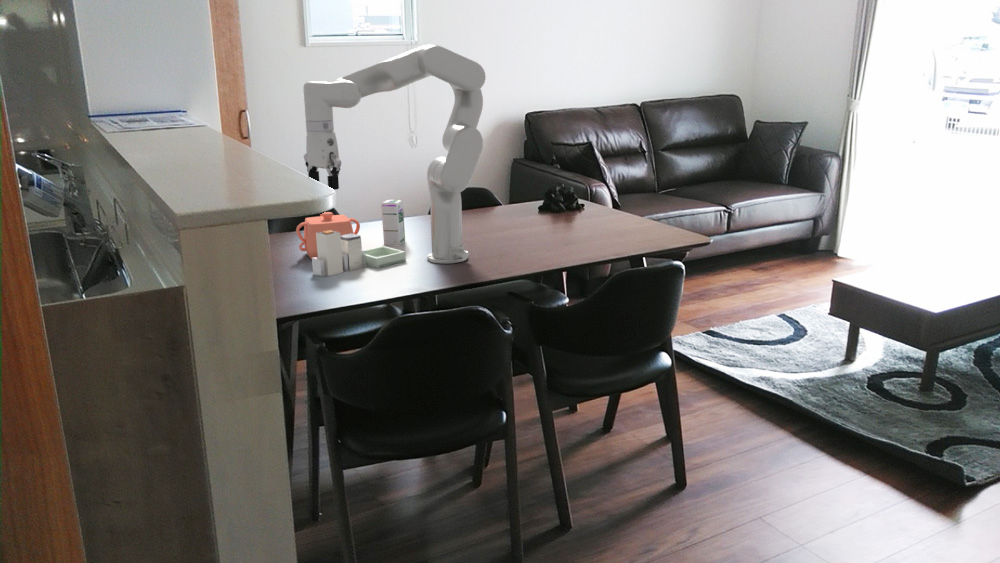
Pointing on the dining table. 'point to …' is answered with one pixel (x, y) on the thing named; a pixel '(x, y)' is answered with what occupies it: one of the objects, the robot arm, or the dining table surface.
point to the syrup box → (393, 222)
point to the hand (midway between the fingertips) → (323, 187)
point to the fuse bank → (345, 255)
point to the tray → (384, 256)
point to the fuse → (330, 251)
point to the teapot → (323, 229)
